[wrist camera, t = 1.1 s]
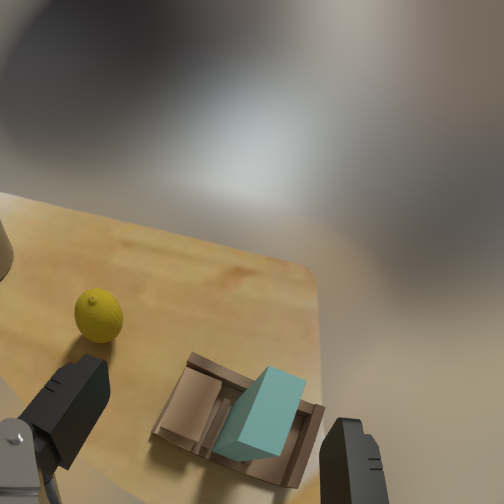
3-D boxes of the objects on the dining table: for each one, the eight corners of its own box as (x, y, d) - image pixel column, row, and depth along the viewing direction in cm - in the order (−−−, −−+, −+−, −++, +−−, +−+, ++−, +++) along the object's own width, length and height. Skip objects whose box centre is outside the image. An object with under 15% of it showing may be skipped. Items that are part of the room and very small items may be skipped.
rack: (151, 432, 29) (149, 429, 26) (190, 360, 35) (192, 349, 33) (286, 487, 28) (297, 488, 25) (312, 413, 34) (325, 407, 32)
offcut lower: (155, 434, 28) (154, 432, 27) (187, 373, 33) (187, 369, 32) (189, 451, 28) (190, 450, 27) (219, 389, 33) (221, 386, 32)
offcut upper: (160, 427, 27) (159, 425, 26) (185, 370, 32) (186, 366, 31) (197, 443, 27) (198, 441, 26) (220, 385, 32) (222, 381, 31)
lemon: (130, 347, 34) (123, 317, 28) (87, 356, 32) (70, 327, 26) (121, 307, 37) (114, 271, 31) (80, 315, 35) (65, 280, 29)
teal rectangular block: (211, 451, 28) (237, 440, 18) (232, 404, 32) (269, 365, 22) (237, 461, 28) (279, 456, 18) (257, 414, 32) (306, 381, 22)
